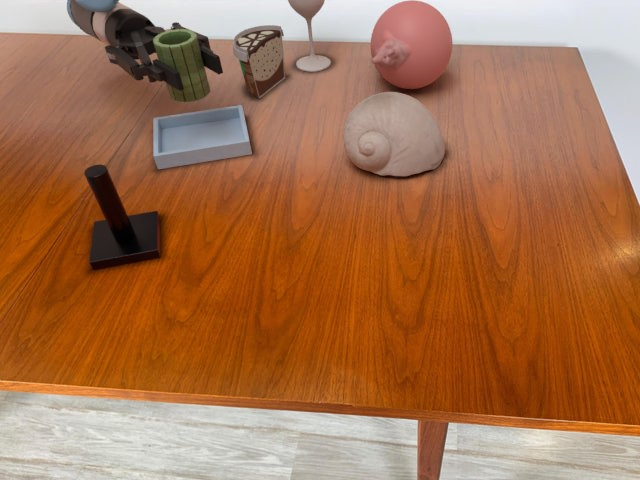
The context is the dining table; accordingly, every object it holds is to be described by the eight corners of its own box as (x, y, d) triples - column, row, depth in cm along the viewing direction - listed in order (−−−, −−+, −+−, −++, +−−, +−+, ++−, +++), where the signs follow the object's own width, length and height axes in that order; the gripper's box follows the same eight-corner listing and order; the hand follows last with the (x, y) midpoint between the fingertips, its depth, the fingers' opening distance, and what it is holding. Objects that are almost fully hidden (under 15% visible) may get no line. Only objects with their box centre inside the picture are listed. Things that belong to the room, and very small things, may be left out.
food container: (264, 69, 121) (255, 19, 113) (289, 74, 119) (282, 25, 111) (228, 95, 113) (217, 44, 106) (254, 102, 111) (244, 51, 104)
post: (93, 270, 80) (54, 197, 71) (97, 229, 86) (62, 157, 77) (160, 257, 81) (130, 184, 72) (160, 218, 87) (132, 146, 78)
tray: (157, 169, 96) (153, 156, 94) (157, 130, 105) (153, 117, 103) (252, 154, 99) (249, 141, 97) (244, 117, 107) (241, 104, 105)
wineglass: (304, 53, 125) (291, -55, 110) (337, 58, 123) (328, -52, 108) (289, 69, 120) (273, -43, 105) (322, 74, 118) (312, -39, 103)
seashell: (356, 182, 104) (322, 150, 90) (383, 111, 105) (353, 67, 91) (434, 204, 99) (410, 172, 85) (461, 128, 100) (442, 85, 86)
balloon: (340, 98, 112) (334, 15, 101) (402, 59, 122) (403, -19, 111) (405, 122, 105) (405, 37, 94) (464, 80, 116) (471, -1, 105)
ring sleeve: (170, 105, 92) (153, 49, 86) (169, 86, 97) (153, 32, 90) (211, 99, 93) (197, 43, 87) (208, 80, 98) (195, 26, 91)
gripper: (180, 35, 108) (255, 74, 96) (81, 71, 98) (150, 119, 87) (169, -8, 102) (246, 28, 91) (62, 26, 93) (134, 71, 81)
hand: (199, 73), depth 89 cm, fingers closed on ring sleeve, 6 cm apart
